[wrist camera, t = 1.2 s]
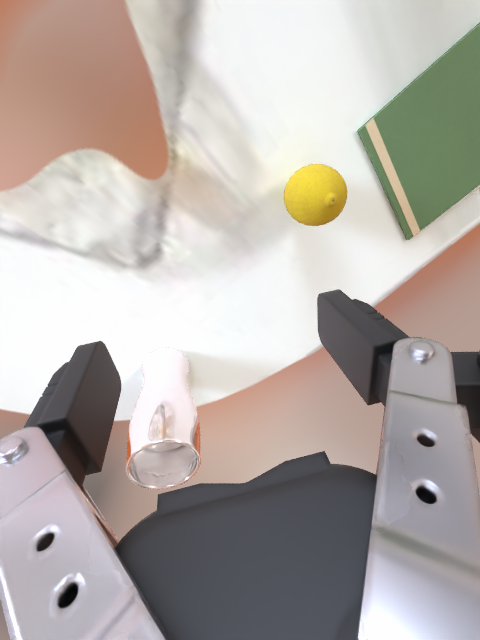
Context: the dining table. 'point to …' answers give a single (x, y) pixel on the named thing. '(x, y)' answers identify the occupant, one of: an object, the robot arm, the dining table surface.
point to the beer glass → (164, 424)
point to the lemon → (315, 195)
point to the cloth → (430, 138)
